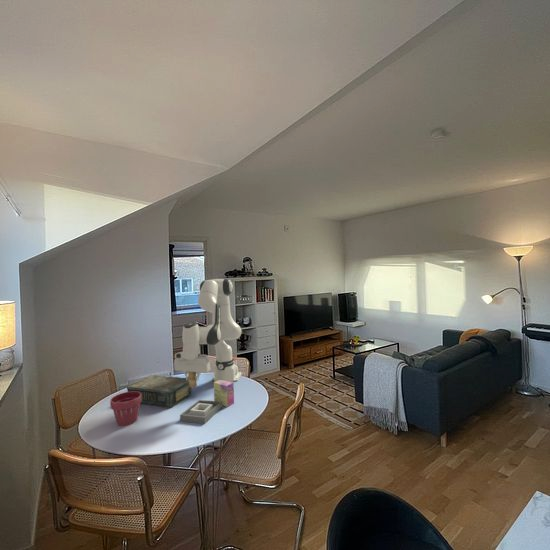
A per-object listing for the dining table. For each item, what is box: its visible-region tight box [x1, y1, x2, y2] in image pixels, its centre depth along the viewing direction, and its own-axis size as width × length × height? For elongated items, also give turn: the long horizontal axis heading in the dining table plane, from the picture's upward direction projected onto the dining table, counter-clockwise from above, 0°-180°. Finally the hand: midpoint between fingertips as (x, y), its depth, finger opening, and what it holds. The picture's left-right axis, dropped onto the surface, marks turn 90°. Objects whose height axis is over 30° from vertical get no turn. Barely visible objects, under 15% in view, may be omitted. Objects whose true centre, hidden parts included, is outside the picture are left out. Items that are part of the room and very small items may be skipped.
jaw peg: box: [188, 372, 198, 388], centre depth 154 cm, size 4×4×8 cm
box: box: [213, 380, 235, 408], centre depth 164 cm, size 10×6×12 cm, turn 56°
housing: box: [179, 399, 223, 425], centre depth 152 cm, size 18×14×4 cm
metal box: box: [126, 374, 193, 409], centre depth 175 cm, size 21×32×10 cm, turn 69°
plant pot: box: [109, 391, 142, 427], centre depth 147 cm, size 14×14×13 cm
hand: (192, 379), depth 154 cm, fingers closed on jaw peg, 4 cm apart
